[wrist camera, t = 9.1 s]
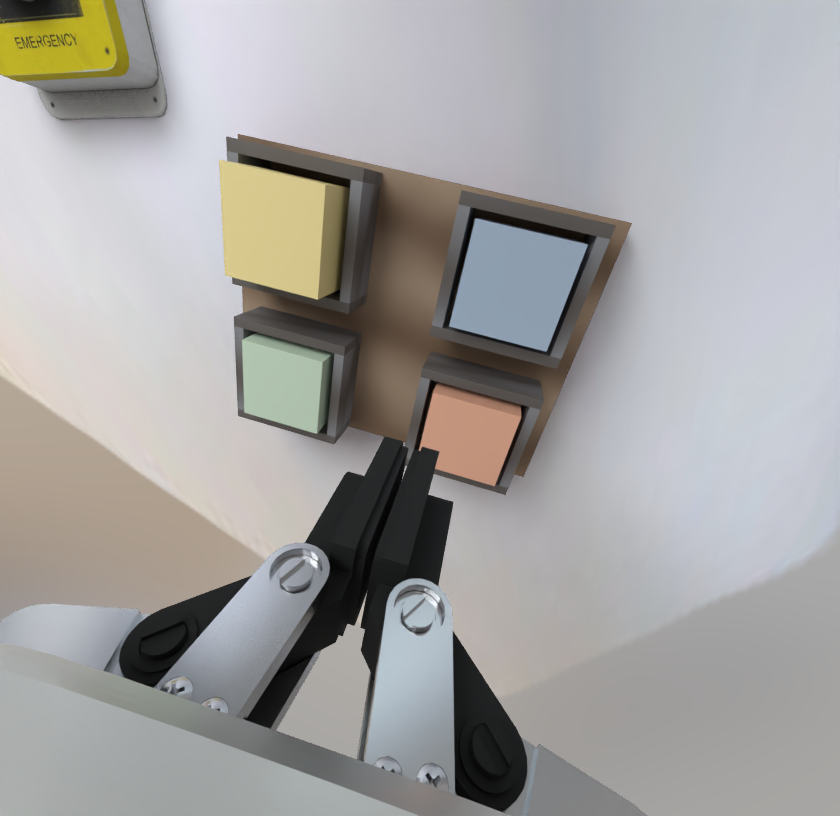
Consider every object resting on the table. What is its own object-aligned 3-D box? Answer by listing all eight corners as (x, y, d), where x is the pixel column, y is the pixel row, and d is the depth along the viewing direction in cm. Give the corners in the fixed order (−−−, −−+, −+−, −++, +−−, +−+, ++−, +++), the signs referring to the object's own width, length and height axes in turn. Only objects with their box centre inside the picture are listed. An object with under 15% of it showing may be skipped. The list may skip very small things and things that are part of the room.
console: (257, 139, 23) (199, 123, 19) (622, 222, 21) (650, 225, 17) (260, 385, 31) (220, 414, 27) (522, 461, 30) (524, 504, 25)
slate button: (480, 217, 21) (475, 218, 18) (576, 239, 20) (587, 244, 17) (456, 311, 23) (449, 326, 20) (541, 333, 23) (546, 351, 20)
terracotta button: (441, 371, 25) (432, 392, 22) (519, 392, 25) (521, 417, 22) (425, 436, 28) (415, 463, 25) (496, 456, 27) (494, 486, 24)
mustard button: (261, 166, 20) (219, 159, 18) (352, 188, 20) (325, 184, 17) (261, 266, 23) (225, 275, 20) (343, 287, 23) (317, 299, 20)
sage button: (272, 325, 26) (242, 339, 23) (344, 344, 26) (322, 362, 23) (271, 391, 29) (244, 412, 26) (337, 410, 28) (316, 433, 25)
